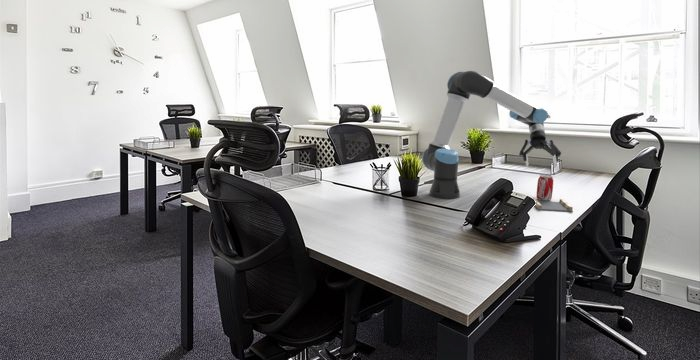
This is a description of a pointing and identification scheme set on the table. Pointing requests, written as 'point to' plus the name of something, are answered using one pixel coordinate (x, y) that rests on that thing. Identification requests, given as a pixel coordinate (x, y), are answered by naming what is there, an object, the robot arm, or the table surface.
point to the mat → (552, 206)
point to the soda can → (545, 188)
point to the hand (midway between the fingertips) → (541, 166)
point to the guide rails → (559, 201)
